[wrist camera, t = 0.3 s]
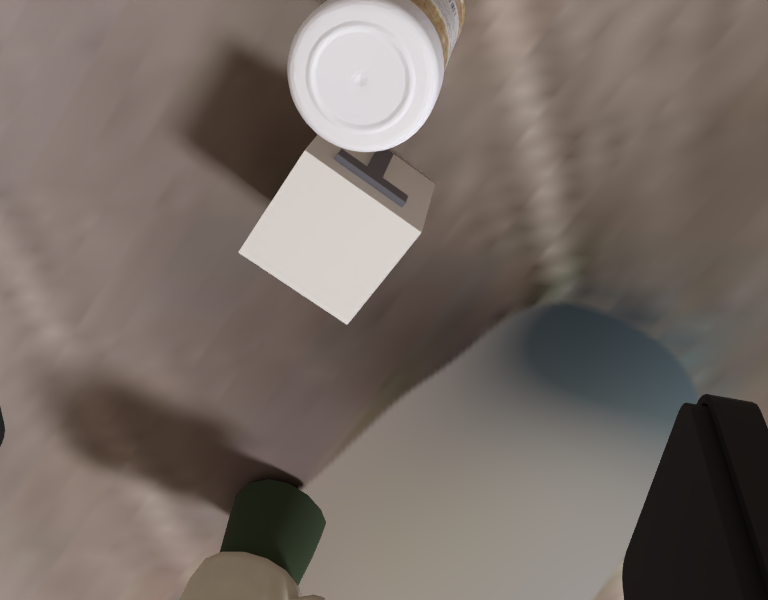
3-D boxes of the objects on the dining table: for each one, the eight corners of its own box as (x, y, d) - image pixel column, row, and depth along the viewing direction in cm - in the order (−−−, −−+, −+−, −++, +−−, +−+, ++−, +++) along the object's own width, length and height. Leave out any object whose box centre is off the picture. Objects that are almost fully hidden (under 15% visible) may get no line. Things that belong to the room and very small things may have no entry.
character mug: (237, 557, 53) (161, 738, 41) (189, 483, 50) (93, 657, 39) (376, 532, 49) (333, 723, 38) (333, 452, 46) (273, 633, 35)
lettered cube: (369, 267, 40) (347, 324, 34) (275, 203, 39) (238, 252, 33) (439, 179, 37) (425, 227, 31) (339, 106, 36) (308, 144, 30)
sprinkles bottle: (347, -10, 33) (253, 46, 21) (437, -67, 31) (388, -39, 20) (397, 81, 34) (335, 181, 23) (485, 32, 33) (467, 113, 21)
